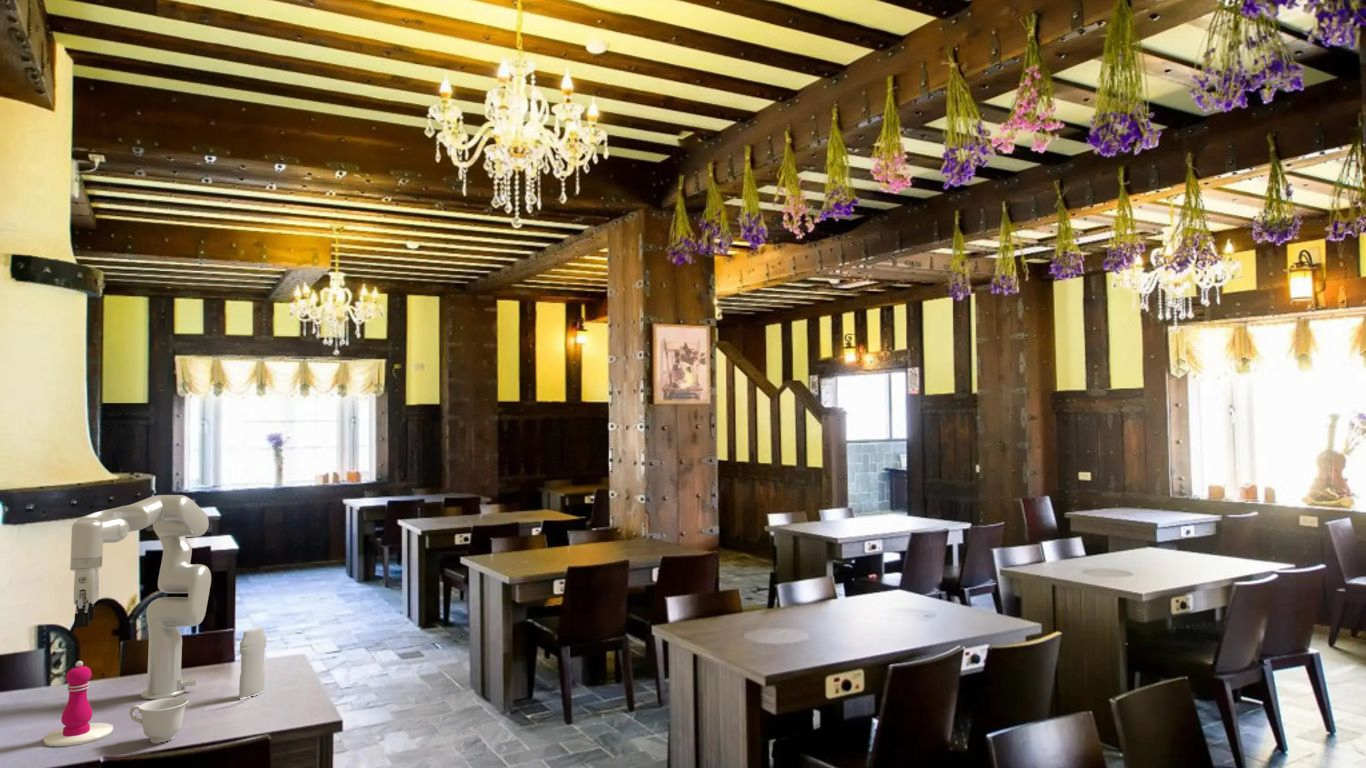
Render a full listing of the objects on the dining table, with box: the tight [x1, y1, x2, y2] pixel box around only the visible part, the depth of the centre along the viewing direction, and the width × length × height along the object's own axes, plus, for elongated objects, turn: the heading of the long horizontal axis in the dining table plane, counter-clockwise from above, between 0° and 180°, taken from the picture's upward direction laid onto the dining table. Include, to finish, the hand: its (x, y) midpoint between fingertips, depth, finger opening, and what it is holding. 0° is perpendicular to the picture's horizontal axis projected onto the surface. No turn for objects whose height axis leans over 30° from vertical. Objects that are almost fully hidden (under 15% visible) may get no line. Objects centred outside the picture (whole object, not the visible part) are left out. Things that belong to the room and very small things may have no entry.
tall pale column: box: [238, 626, 267, 699], centre depth 278 cm, size 11×4×22 cm, turn 161°
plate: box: [43, 722, 114, 747], centre depth 240 cm, size 16×16×1 cm
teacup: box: [128, 696, 189, 744], centre depth 237 cm, size 12×15×10 cm
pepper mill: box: [60, 660, 93, 736], centre depth 240 cm, size 7×7×20 cm
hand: (84, 623), depth 242 cm, fingers open, 9 cm apart
